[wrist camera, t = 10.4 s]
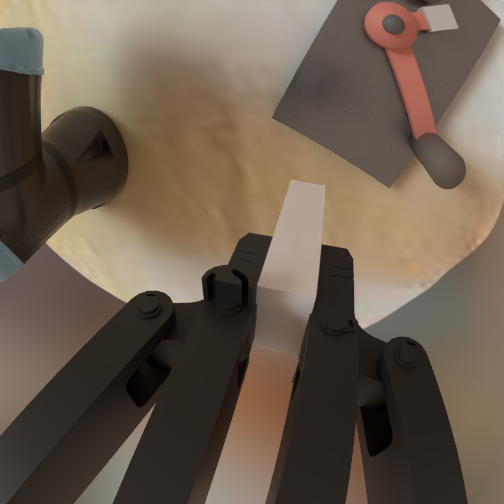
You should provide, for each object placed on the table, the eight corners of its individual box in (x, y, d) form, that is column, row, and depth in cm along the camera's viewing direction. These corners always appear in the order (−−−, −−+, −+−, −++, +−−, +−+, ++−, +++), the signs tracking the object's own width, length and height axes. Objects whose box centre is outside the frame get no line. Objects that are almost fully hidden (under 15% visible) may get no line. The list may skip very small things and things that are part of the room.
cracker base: (387, 182, 30) (395, 206, 26) (274, 114, 29) (263, 126, 25) (498, 11, 14) (524, 9, 10) (384, -70, 13) (392, -90, 9)
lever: (480, 147, 23) (512, 174, 17) (409, 163, 26) (427, 194, 21) (437, -3, 15) (465, -15, 10) (355, 11, 19) (363, -3, 14)
